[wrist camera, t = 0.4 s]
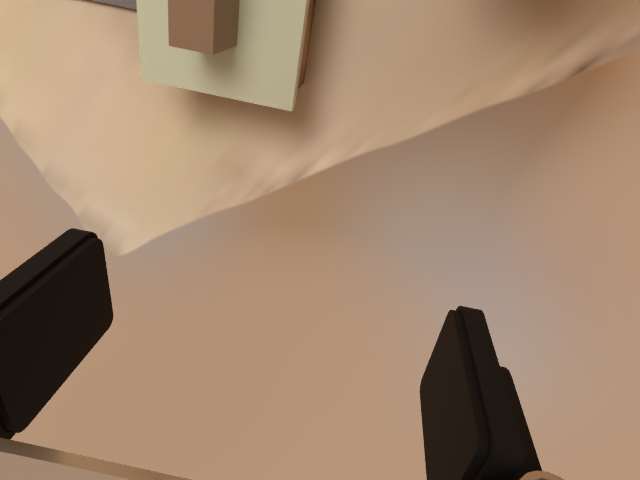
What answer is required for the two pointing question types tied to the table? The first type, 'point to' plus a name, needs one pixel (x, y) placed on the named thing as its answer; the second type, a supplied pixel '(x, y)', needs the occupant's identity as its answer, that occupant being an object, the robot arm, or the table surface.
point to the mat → (120, 3)
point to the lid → (225, 47)
